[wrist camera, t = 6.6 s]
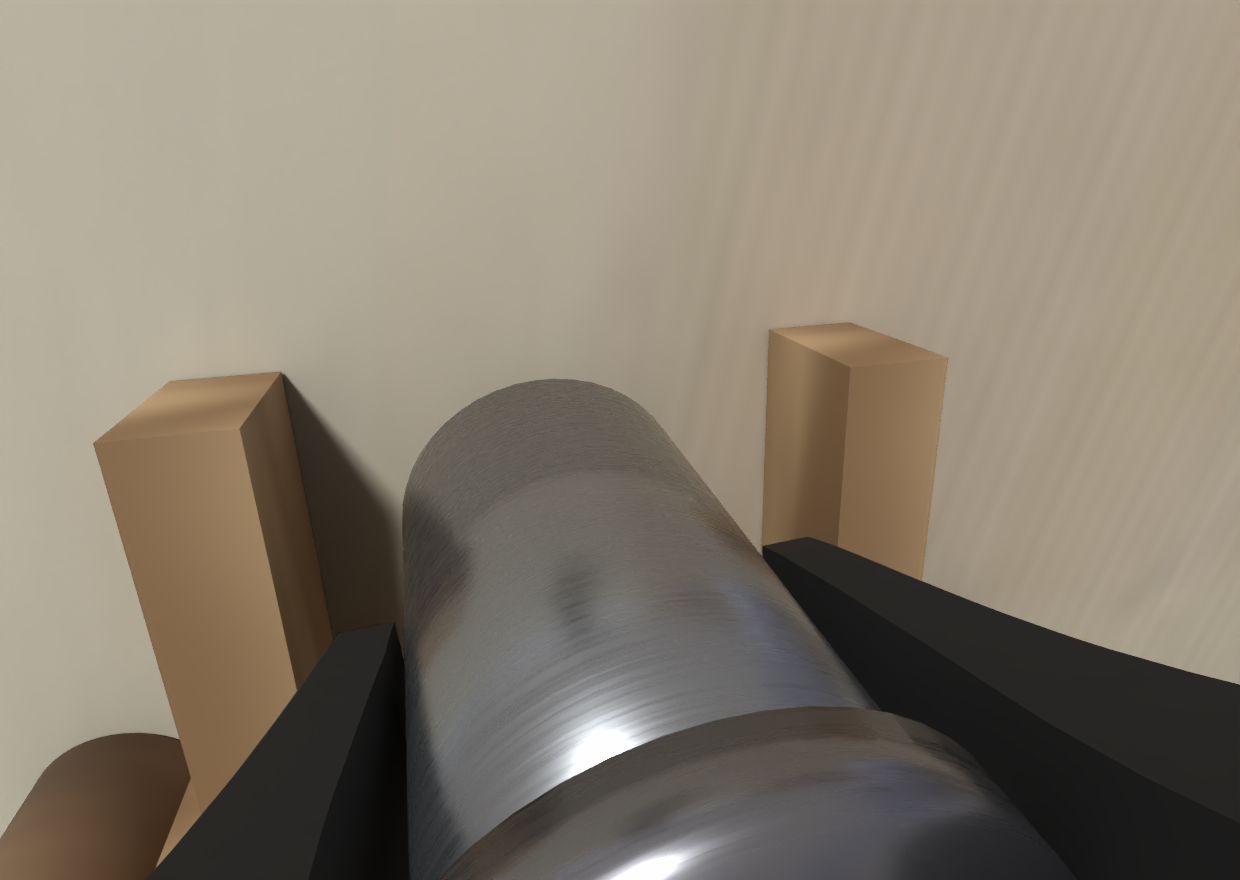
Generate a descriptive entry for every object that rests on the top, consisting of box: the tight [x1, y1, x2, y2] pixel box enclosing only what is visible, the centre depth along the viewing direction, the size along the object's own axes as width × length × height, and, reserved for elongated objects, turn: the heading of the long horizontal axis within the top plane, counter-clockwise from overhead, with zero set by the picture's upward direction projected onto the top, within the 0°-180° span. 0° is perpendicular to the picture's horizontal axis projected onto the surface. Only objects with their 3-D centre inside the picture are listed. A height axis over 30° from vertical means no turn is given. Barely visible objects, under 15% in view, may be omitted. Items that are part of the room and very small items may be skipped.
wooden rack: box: [0, 323, 948, 880], centre depth 9 cm, size 17×8×7 cm, turn 92°
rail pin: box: [402, 379, 1077, 880], centre depth 8 cm, size 5×5×7 cm
